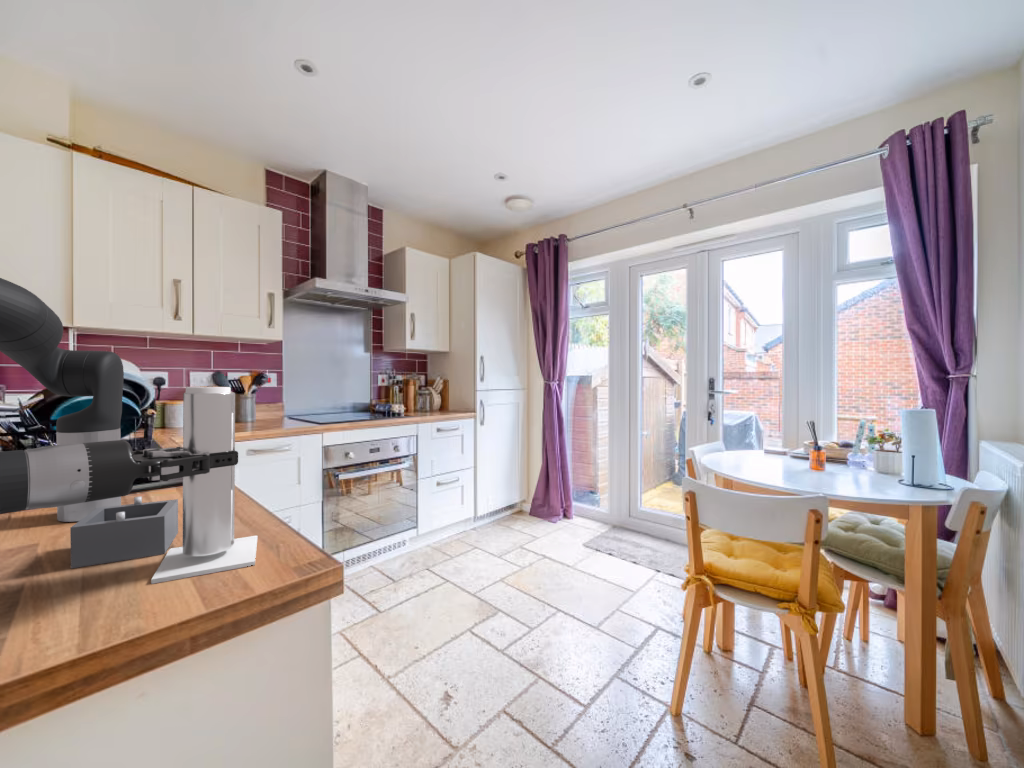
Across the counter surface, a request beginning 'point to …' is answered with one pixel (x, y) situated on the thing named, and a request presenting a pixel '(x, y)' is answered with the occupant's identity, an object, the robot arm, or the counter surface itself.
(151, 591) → the counter surface
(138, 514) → the housing collar
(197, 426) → the silver metal canister
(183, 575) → the rubber mat
